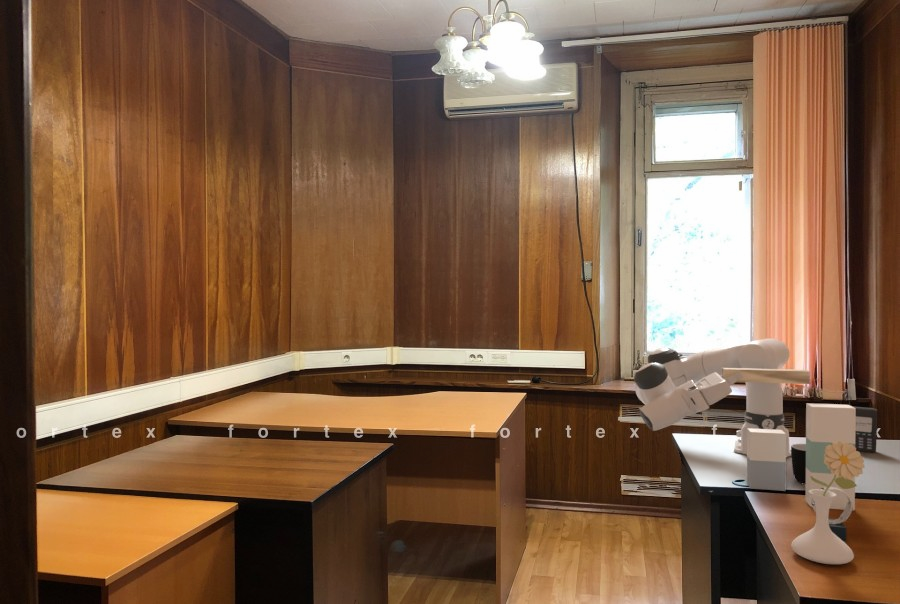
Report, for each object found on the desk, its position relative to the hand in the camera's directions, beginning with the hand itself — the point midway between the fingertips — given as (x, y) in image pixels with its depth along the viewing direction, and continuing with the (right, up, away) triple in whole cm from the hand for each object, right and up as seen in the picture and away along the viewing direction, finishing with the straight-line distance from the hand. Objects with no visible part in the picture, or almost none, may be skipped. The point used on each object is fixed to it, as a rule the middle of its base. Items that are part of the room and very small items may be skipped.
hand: (739, 373), depth 184 cm
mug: (+22, -32, +5) cm, 39 cm away
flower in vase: (-4, -33, -49) cm, 60 cm away
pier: (+7, -32, -1) cm, 33 cm away
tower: (+16, -32, -17) cm, 40 cm away
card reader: (+59, -31, +39) cm, 77 cm away
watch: (+4, -33, -37) cm, 50 cm away
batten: (+6, -2, -2) cm, 7 cm away
